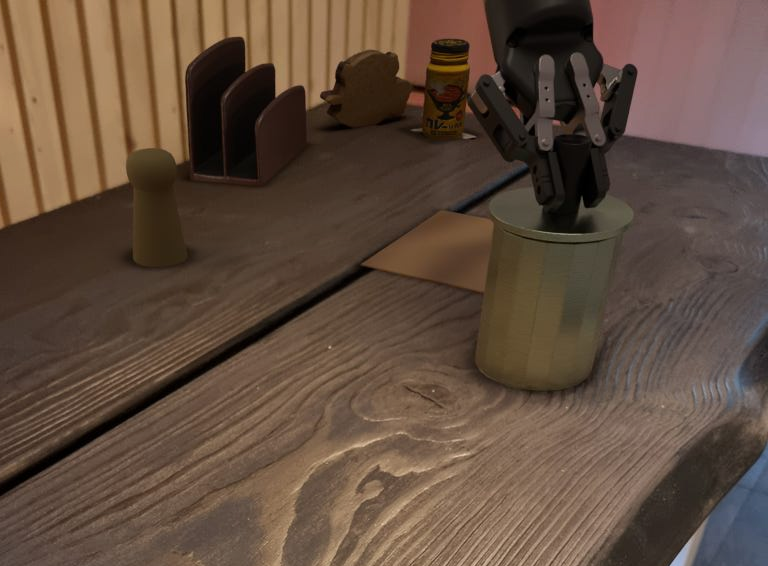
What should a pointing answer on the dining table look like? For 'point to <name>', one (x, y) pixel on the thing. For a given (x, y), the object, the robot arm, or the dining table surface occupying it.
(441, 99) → the condiment
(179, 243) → the pepper shaker
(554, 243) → the green cylindrical container
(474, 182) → the dining table surface
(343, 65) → the wooden carving
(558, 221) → the lid
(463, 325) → the dining table surface
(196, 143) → the letter holder
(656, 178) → the dining table surface
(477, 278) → the cork mat
